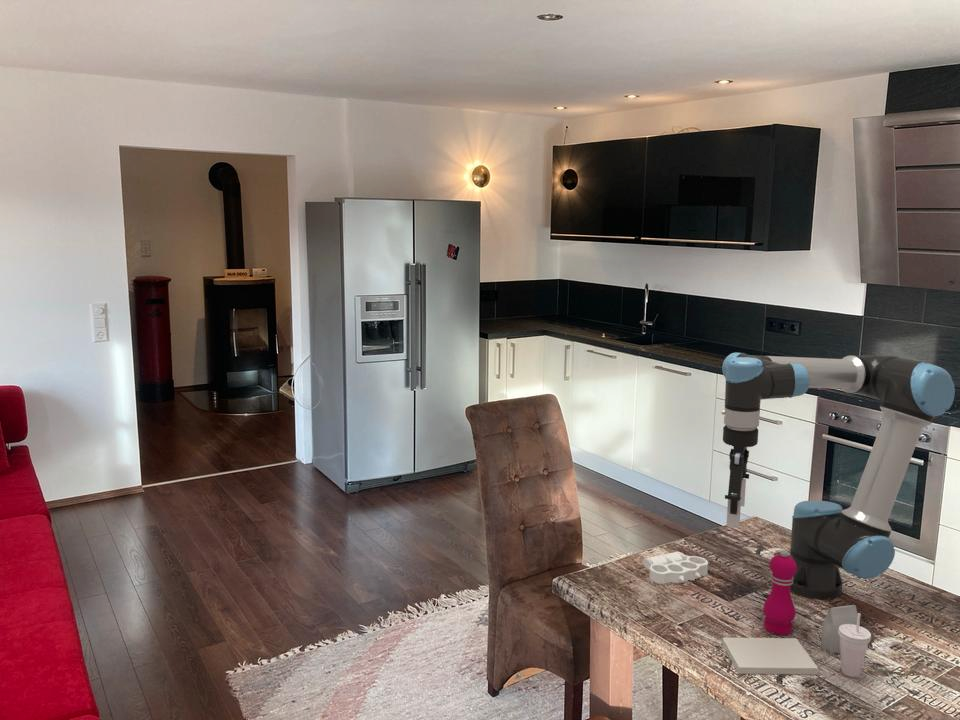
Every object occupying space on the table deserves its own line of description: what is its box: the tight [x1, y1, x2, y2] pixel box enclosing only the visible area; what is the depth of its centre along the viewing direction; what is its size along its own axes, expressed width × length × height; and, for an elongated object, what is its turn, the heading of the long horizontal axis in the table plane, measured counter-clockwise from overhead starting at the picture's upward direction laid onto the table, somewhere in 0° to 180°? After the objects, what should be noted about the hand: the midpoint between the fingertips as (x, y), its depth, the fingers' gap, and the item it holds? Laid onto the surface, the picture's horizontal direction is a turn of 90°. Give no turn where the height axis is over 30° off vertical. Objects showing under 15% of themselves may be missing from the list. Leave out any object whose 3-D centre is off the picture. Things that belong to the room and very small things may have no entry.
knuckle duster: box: [641, 551, 709, 585], centre depth 215 cm, size 3×18×15 cm
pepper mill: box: [762, 549, 797, 636], centre depth 184 cm, size 7×7×20 cm
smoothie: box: [838, 612, 872, 678], centre depth 167 cm, size 6×6×14 cm
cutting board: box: [721, 637, 819, 676], centre depth 173 cm, size 17×12×2 cm
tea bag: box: [820, 604, 860, 654], centre depth 177 cm, size 4×7×10 cm, turn 104°
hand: (735, 515), depth 179 cm, fingers open, 13 cm apart
